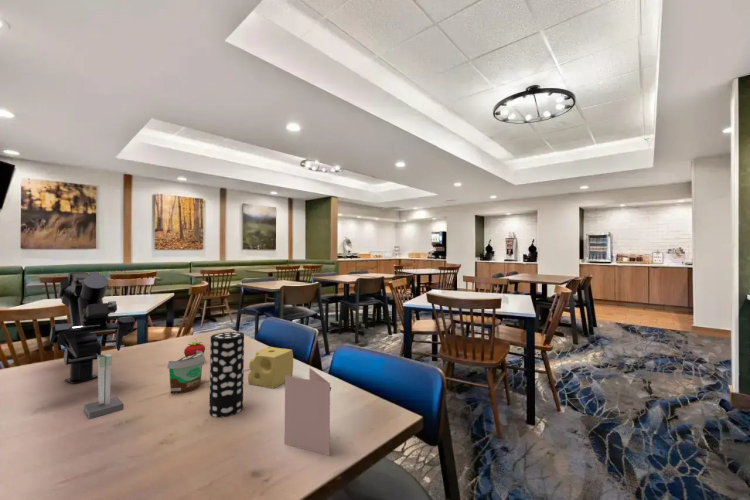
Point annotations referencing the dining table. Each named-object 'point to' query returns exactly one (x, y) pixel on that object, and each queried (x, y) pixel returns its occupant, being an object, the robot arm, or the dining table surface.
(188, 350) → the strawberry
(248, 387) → the dining table surface
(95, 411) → the stand
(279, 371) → the cheese
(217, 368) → the white-spotted black cylinder
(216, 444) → the dining table surface
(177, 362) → the food container
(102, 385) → the swinging tong arm
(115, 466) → the dining table surface
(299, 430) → the greeting card
